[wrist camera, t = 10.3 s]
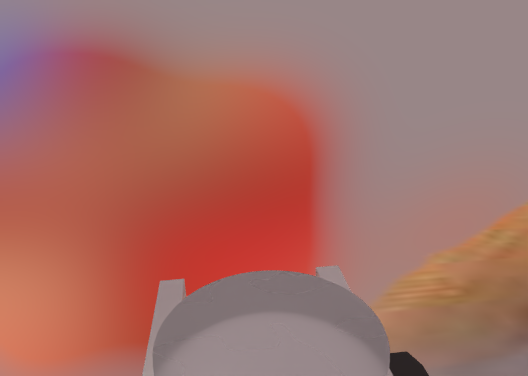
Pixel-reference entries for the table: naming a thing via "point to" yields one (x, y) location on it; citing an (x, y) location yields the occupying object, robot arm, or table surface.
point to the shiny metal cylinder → (271, 330)
